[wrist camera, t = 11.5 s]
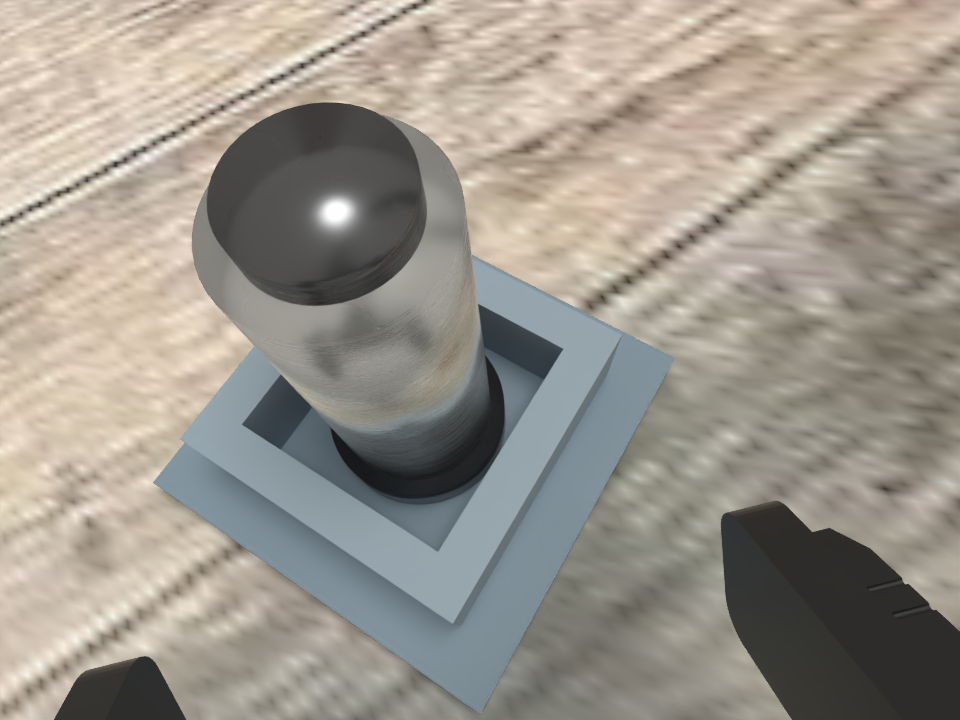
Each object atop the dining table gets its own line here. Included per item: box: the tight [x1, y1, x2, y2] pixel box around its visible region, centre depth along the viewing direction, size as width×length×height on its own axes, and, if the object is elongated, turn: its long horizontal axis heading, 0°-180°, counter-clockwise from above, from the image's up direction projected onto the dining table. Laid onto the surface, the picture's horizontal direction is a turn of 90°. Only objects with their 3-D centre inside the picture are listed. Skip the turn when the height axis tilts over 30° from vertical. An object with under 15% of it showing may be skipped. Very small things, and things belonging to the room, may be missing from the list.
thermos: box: [192, 103, 506, 505], centre depth 15 cm, size 5×5×12 cm
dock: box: [153, 255, 675, 714], centre depth 20 cm, size 12×12×4 cm
